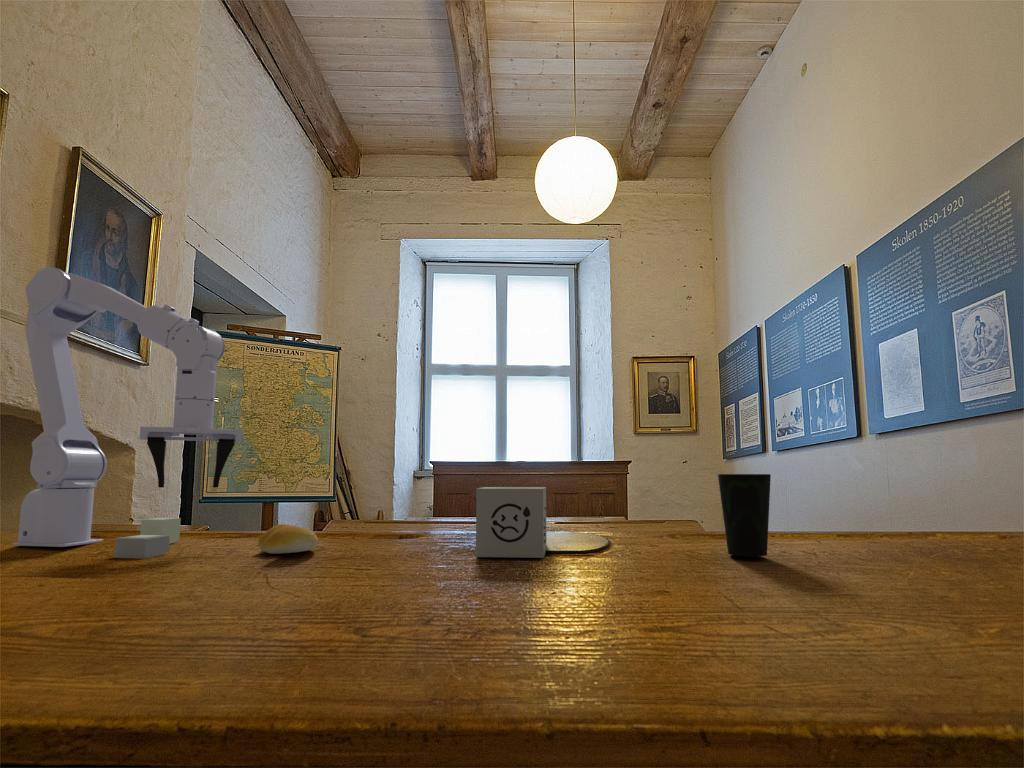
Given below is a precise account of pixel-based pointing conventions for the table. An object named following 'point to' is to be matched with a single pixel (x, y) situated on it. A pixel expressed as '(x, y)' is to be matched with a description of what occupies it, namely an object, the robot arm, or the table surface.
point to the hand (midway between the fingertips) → (188, 487)
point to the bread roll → (287, 539)
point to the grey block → (141, 546)
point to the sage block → (161, 527)
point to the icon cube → (511, 522)
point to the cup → (745, 512)
